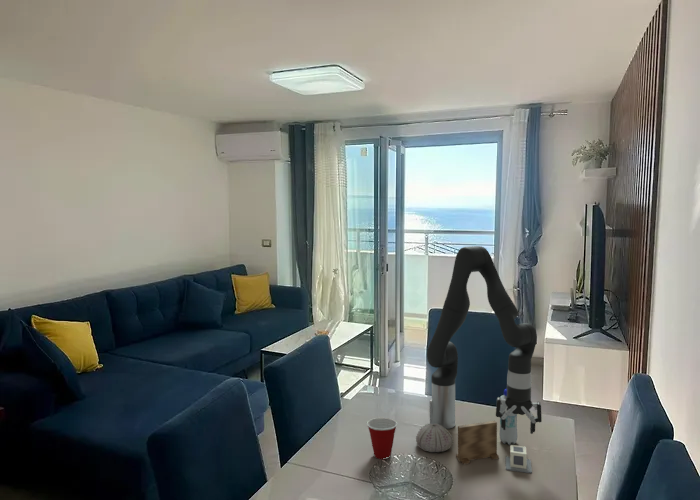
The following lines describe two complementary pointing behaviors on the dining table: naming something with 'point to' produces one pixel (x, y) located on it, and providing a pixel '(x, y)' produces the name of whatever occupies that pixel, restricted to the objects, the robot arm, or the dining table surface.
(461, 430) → the walnut screen
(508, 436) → the bottle
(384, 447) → the plastic cup
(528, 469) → the slate coaster
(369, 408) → the dining table surface
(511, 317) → the robot arm
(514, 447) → the white marker cube
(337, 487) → the dining table surface
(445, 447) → the sea urchin shell
